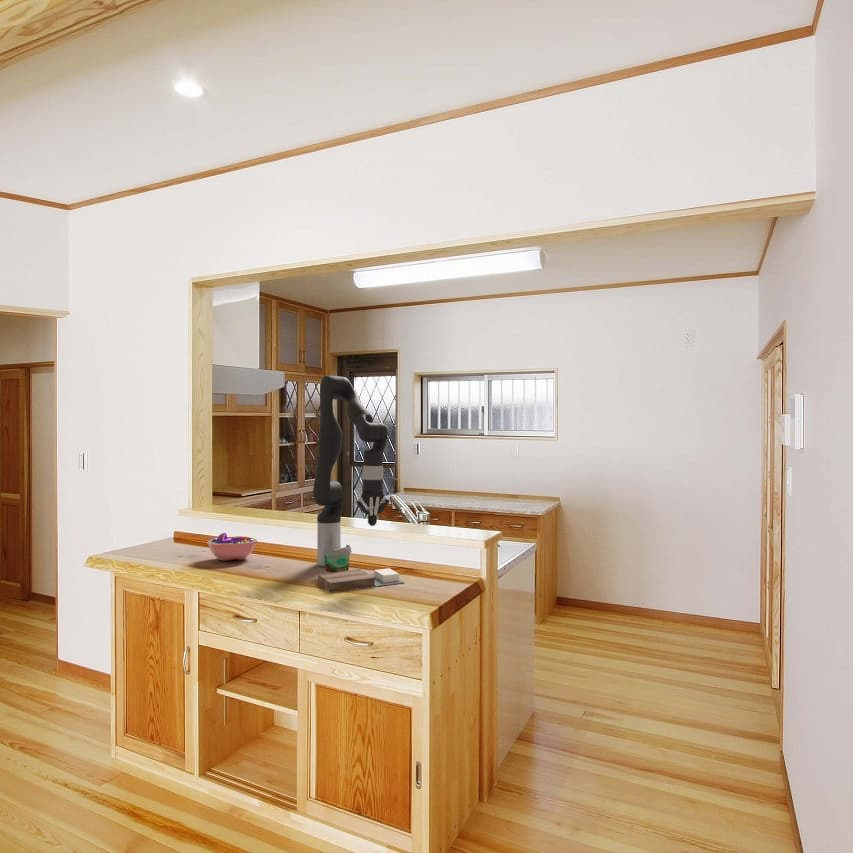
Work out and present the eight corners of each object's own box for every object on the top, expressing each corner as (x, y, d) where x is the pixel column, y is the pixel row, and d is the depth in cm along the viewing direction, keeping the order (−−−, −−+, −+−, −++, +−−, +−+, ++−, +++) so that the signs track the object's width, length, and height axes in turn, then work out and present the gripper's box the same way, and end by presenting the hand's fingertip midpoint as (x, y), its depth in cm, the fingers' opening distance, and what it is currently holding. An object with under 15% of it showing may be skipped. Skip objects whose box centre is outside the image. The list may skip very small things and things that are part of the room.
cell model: (250, 565, 250) (250, 536, 250) (200, 564, 251) (200, 536, 250) (262, 555, 267) (262, 529, 267) (215, 555, 268) (215, 529, 267)
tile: (389, 568, 233) (389, 574, 233) (374, 569, 230) (374, 576, 230) (398, 573, 225) (398, 580, 225) (383, 575, 222) (383, 582, 222)
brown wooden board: (318, 582, 224) (317, 574, 224) (360, 577, 231) (360, 569, 231) (330, 592, 211) (330, 583, 211) (374, 586, 219) (374, 577, 219)
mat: (359, 576, 232) (359, 575, 232) (386, 573, 237) (386, 572, 237) (375, 587, 218) (375, 585, 218) (404, 583, 223) (404, 582, 223)
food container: (333, 579, 228) (333, 551, 228) (322, 576, 232) (322, 549, 232) (358, 572, 238) (358, 546, 238) (347, 570, 242) (347, 544, 242)
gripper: (385, 476, 233) (385, 522, 234) (352, 477, 228) (351, 524, 228) (393, 478, 227) (393, 526, 227) (359, 479, 221) (358, 528, 221)
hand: (372, 525), depth 228 cm, fingers closed
